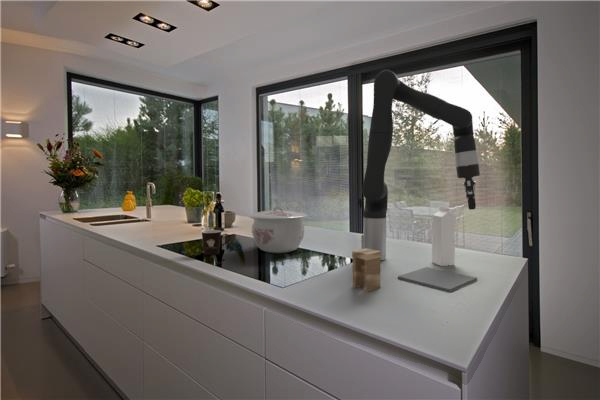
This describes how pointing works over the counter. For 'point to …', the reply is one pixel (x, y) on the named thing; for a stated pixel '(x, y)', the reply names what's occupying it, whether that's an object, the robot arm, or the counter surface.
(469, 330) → the counter surface
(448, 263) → the milk
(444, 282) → the mat
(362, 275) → the tan notched block
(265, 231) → the chamber pot
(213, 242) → the coffee mug
